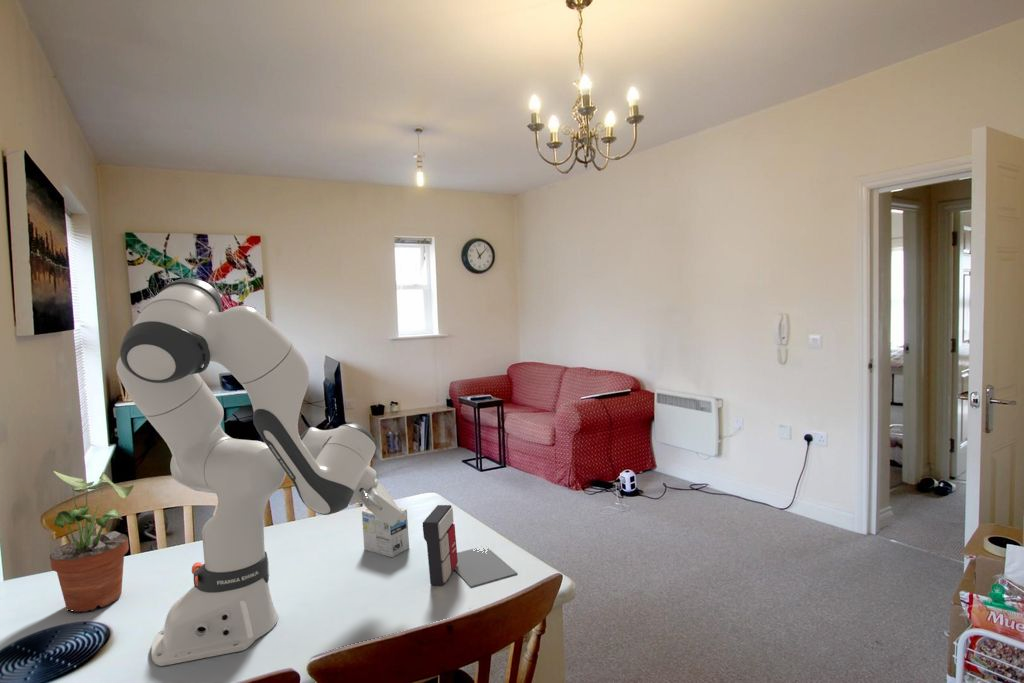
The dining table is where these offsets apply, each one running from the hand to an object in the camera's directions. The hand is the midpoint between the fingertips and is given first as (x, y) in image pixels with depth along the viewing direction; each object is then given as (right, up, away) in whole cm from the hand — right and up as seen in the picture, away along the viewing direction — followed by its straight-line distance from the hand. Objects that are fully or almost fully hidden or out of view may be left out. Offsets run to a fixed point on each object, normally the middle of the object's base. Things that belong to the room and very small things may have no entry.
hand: (403, 517), depth 129 cm
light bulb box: (-9, -16, +22) cm, 29 cm away
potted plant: (-69, -19, 0) cm, 72 cm away
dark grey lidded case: (+8, -16, +7) cm, 19 cm away
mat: (+16, -15, +11) cm, 25 cm away
